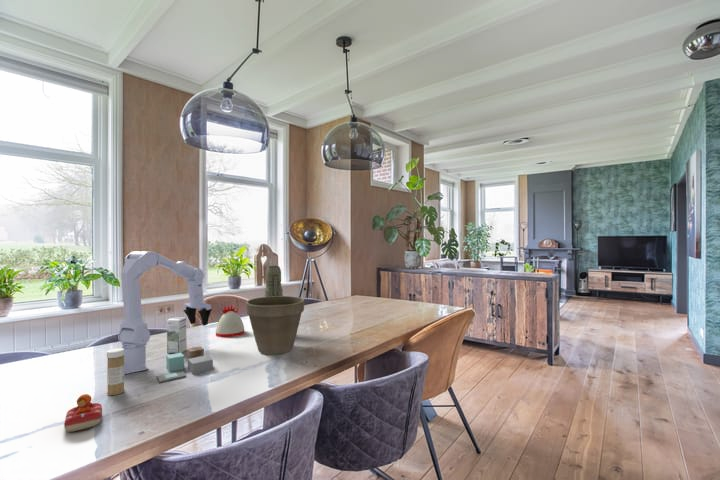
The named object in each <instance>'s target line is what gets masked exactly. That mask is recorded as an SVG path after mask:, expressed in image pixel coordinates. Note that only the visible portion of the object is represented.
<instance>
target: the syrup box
mask: <svg viewBox="0 0 720 480" xmlns="http://www.w3.org/2000/svg"><path fill="white" fill-rule="evenodd" d="M187 343H188V342H187V317H186V316H185V317H181V316H180V317H177V316H176V317H175V316H174V317H171V318H168V319H166V348H167V349H166V351H167V352H166V353H167V354H176V353H182V354H183V353H184V352H185V351H187V349H188V345H187Z"/></svg>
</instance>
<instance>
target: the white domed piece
mask: <svg viewBox="0 0 720 480" xmlns="http://www.w3.org/2000/svg"><path fill="white" fill-rule="evenodd" d="M238 310H239V308H237V309H236V306H234V307H233V305H232V304H231V305H229V304H228V305H227V308H226V305H224V306H223V308H221V311H222V313H223V314H222V315H221V317H220V318H219V320H217V322H218V323H217V325H216V328H215V337H217V338H233V337H234V338H235V337H239V336H242V335H244V334H245V326H244V323H243V320H242V318H241V316H240V315H239V313H238Z"/></svg>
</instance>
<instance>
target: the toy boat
mask: <svg viewBox="0 0 720 480" xmlns="http://www.w3.org/2000/svg"><path fill="white" fill-rule="evenodd" d="M76 405H77V406H75V407H73V408H71V409H69V410H68V411H67V412H66V414H65V419H64V424H63V427H64V430H65V432H68V433H73V432H77V431H81V430H85V429H89V428H93V427H96V426H98V424H99V423H100V422H101V419H102V417H103V406H102V404H100V403H97V402H94V403H93V402H92V396H91V395H90V394H87V393H86V394H82V395H79V397H78V398H77V400H76Z"/></svg>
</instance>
